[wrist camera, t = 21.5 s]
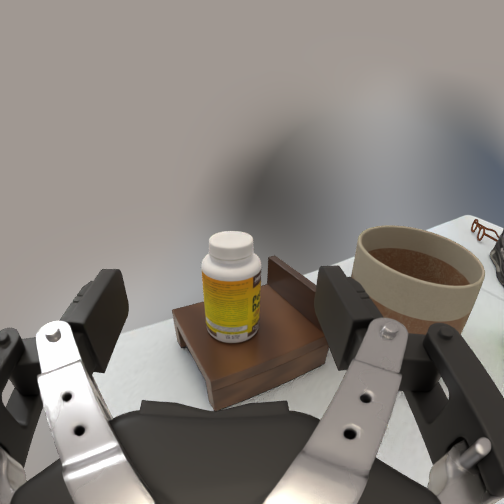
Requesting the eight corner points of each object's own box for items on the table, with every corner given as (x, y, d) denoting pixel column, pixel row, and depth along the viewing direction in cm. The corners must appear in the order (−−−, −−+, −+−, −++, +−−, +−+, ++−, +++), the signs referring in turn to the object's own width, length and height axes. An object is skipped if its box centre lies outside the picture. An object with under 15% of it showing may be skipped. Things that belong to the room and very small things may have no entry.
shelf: (214, 411, 25) (206, 350, 21) (177, 340, 35) (167, 280, 31) (324, 363, 31) (339, 301, 28) (271, 311, 41) (274, 255, 37)
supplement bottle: (260, 346, 28) (263, 252, 23) (203, 345, 27) (194, 251, 23) (258, 312, 33) (261, 227, 28) (209, 311, 33) (204, 227, 28)
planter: (410, 305, 41) (432, 225, 36) (463, 370, 27) (508, 279, 21) (322, 316, 40) (337, 224, 34) (363, 402, 26) (406, 295, 20)
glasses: (469, 230, 78) (473, 216, 76) (498, 238, 73) (502, 225, 70) (479, 243, 67) (483, 228, 65) (510, 252, 62) (514, 237, 60)
